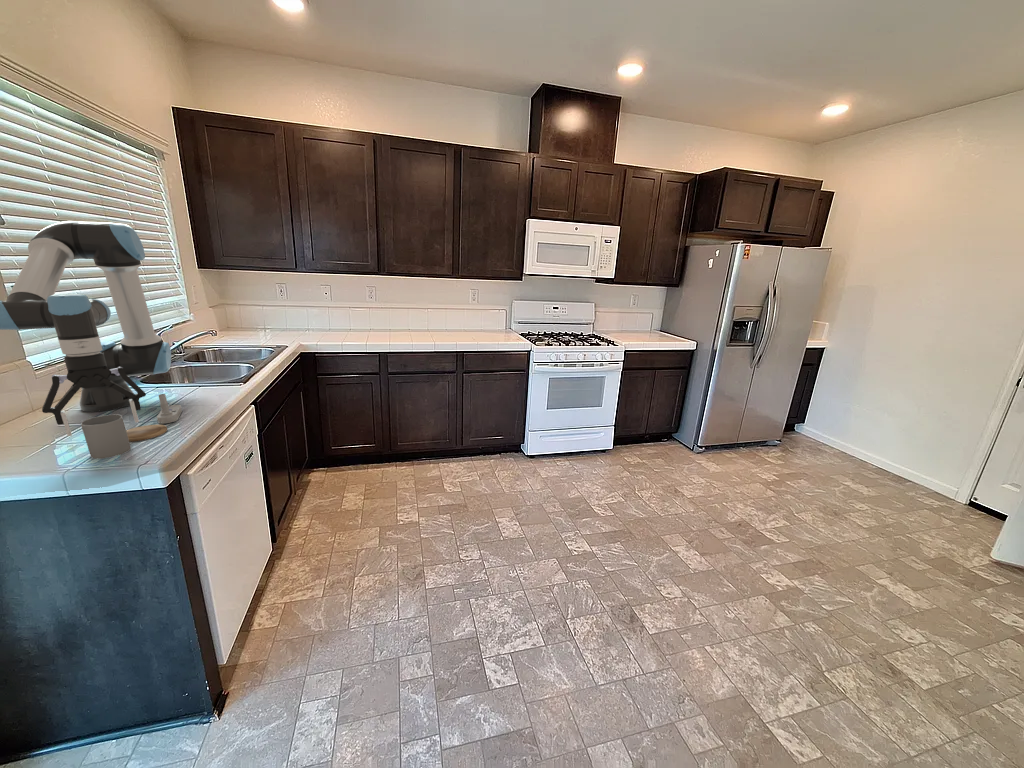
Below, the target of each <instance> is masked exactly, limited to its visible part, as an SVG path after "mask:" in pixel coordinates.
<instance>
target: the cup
mask: <svg viewBox="0 0 1024 768" xmlns="http://www.w3.org/2000/svg"><path fill="white" fill-rule="evenodd" d="M123 417H124V416H123V415H121V414H118V413H117V414H116V413H115V414H114V413H113V414H111V413H110V414H106V415H105V414H104V415H98V416H93V417H90V418H87V419H85V420H83V421H81V423H80V426H81V430H82V433H83V436H84V439H85V441H86V442H85V443H86V446H87V449H88V451H89V455H90V458H91V459H94V460H95V459H96V460H102V459H110V458H114V457H118V456H121V455H123V454H126V453H128V452H129V451H130V450H131V449H132V446H131V442H129V439H128V435H127V432H126V430H127V428H126V425H125V421H124V418H123Z"/></svg>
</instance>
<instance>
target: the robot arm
mask: <svg viewBox="0 0 1024 768" xmlns="http://www.w3.org/2000/svg"><path fill="white" fill-rule="evenodd" d="M27 250H28V252H29V254H28V257H27V258H26V261H25V262H24V265H23V267H22V269H21V271H20V272H19V275H18V276H17V279H16V280H15V283H14V284H13V287H12V289H11V290H10V292H9V295H8V296H7V298H6V300H2V299H1V300H0V330H2V331H5V330H7V331H8V330H9V331H10V330H13V331H22V330H38V329H42V330H43V329H55V332H56V335H57V340H58V344H59V347H60V351H61V353H62V355H64V357H63V361H64V363H65V367H66V370H67V374H63V375H62V374H55V373H54V374H52V375H51V381H52V382H51V383H52V384H51V385H50V386H51V387H50V388H49V390H48V393H47V395H46V397H45V401H44V403H43V404H42V409H41V412H42V413H43V414H48V413H49V414H53V416H54V418H55V421H56V424H57V425H58V426H61V425H63V426H64V429H65V432H66V435H67V437H72V436H73V434H72V431H71V427H70V425H69V420H68V418H67V414H66V411H65V410H63V409H65V407H66V406H67V404H68V403H69V402H70V401H71V400H72V399H73V397H74V396H75V394H76V393H77V392H78V391H79V390H80V389H81V395H80V400H79V406H80V407H79V408H80V410H81V411H83V412H87V413H93V412H94V413H95V412H105V411H113V410H116V409H122V408H126V407H129V406H130V408H131V413H132V414H131V415H132V417H133V421H134V422H135V424H137V423H139V422H140V421H139V417H138V413H137V411H141V410H142V409H141V407H142V406H141V404H140V399H141V398H144V397H146V395H147V394H146V392H145V391H144V390H143V389H142V388H141V387H140V386H139V385H138V384H137V383H135V381H133V379H131V378H130V377H133V376H135V377H136V376H144V375H145V376H146V375H156V374H164V373H167V372H169V370H170V368H171V365H172V350H171V346H170V343H169V342H166V341H163V338H162V337H161V336H160V335H158V334H156V333H155V329H154V326H153V323H152V319H151V315H150V311H149V308H148V305H147V301H146V298H145V293H144V289H143V287H142V282H141V280H140V275H139V272H138V269H139V267H141V265H142V262H141V261H142V260H145V258H146V254H145V248H144V246H143V244H142V241H141V238H140V236H139V234H138V233H137V232H136V230H135V228H133V227H132V226H130V225H128V224H125V223H115V222H103V221H101V222H97V221H74V220H67V221H66V220H65V221H61V222H60V221H59V222H57V223H54V224H50V225H48V226H46V227H44V228H43V229H41V230H40V231H38V232H37V233H36V234H35V235H34V236H32V237H31V239H30V241H29V243H28V246H27ZM74 260H93V262H94V264H95V266H96V267H97V268H99V269H101V270H102V271H103V273H104V276H105V280H106V283H107V287H108V289H109V293H110V296H111V299H112V302H113V306H114V308H115V310H116V311H115V312H116V314H117V317H118V321H119V325H120V327H121V330H122V334H123V336H124V337H123V338H122V339H121V340H120V343H119V344H118V345H117V343H116V342H115V341H113V340H112V341H109V340H108V341H101V340H100V339H101V338H100V336H99V332H98V328H97V326H98V327H99V326H101V325H103V324H105V323H106V322H108V321H109V320H110V317H111V313H112V312H111V309H110V307H109V306H108V305H107V303H105V302H103V301H102V300H99V299H96V298H90V297H88V296H87V295H86V294H83V293H69V294H68V293H66V294H65V293H63V294H60V293H59V294H55V293H56V291H57V288H58V286H59V283H60V281H61V278H62V276H63V274H64V271H65V269H66V266H69V265H70V264H72V263H73V262H74ZM65 380H68V381H70V382H71V383H72V384H71V386H70V388H69V389H68V390H67V391H66V393H64V395H63V396H62V397H61V399H59V401H58V402H57V404H56V405H55V406H52V405H53V403H54V400H55V398H56V396H57V393H58V391H59V388H60V385H61V384H64V382H65ZM131 388H132V389H133V390H134V391H135V392H136V393H134V391H133V390H132V389H131Z"/></svg>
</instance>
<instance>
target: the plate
mask: <svg viewBox="0 0 1024 768" xmlns="http://www.w3.org/2000/svg"><path fill="white" fill-rule="evenodd" d="M126 432H127V435H128V439H129V442H130V443H133V442H135V443H136V442H141V441H146V440H150V439H155V438H158V437H159V436H162V435H163V434H165V433H167V432H168V427H167V425H165V424H160V423H158V424H156V423H155V424H145V425H141V426H136V427H132V428H129V429H126Z"/></svg>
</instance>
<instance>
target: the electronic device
mask: <svg viewBox="0 0 1024 768" xmlns="http://www.w3.org/2000/svg"><path fill="white" fill-rule="evenodd" d="M158 399H159V404H160V411H159V413H158V414H157V416H156V421H157V423H158V424H159V425H165V424H169V423H173V422H176V421H178V420H179V417H180V416H181V415H182V412H183V408H182V405H180V404H173V405H172V404H171V405H169V402H168V399H167V396H166V393H161V394H158Z"/></svg>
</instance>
